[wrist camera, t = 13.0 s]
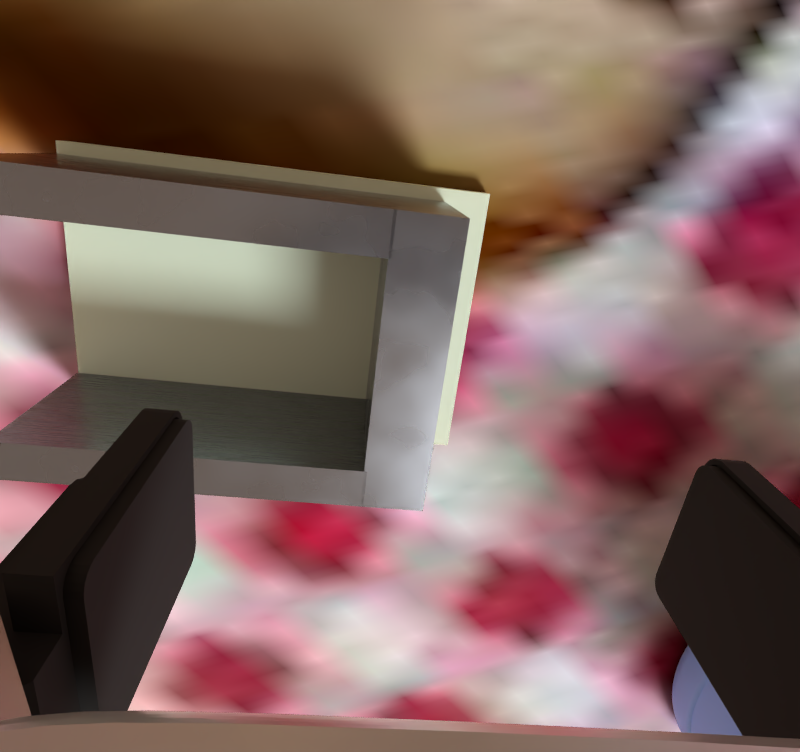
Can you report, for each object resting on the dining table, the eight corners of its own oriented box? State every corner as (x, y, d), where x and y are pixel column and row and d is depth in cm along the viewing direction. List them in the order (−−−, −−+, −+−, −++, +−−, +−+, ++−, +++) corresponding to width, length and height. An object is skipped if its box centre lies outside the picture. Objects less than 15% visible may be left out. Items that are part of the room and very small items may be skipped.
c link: (444, 201, 22) (469, 218, 16) (411, 431, 25) (422, 511, 20) (56, 153, 20) (-63, 153, 15) (80, 403, 24) (-8, 478, 18)
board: (486, 192, 22) (490, 193, 22) (445, 436, 26) (447, 445, 26) (66, 140, 21) (55, 140, 20) (91, 407, 25) (82, 414, 24)
